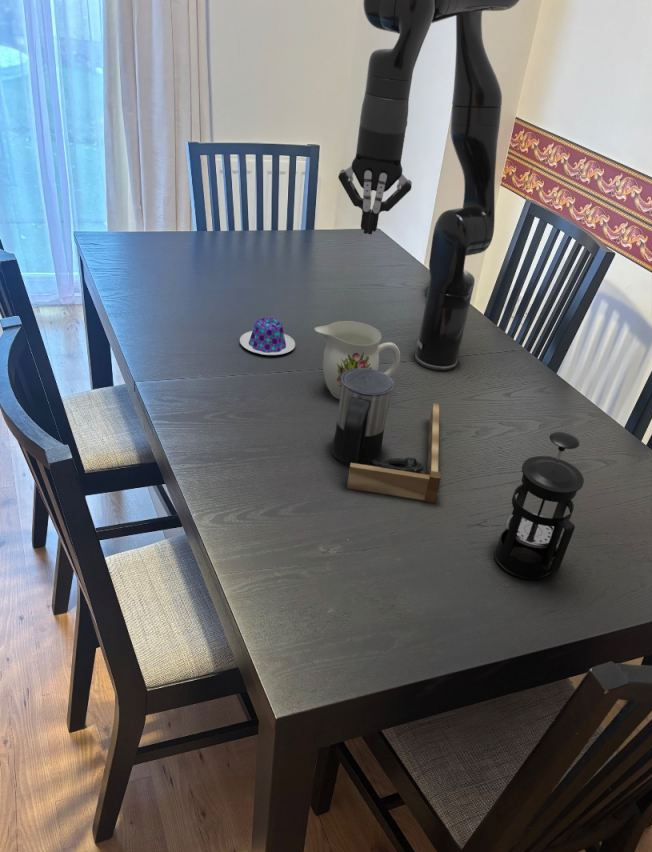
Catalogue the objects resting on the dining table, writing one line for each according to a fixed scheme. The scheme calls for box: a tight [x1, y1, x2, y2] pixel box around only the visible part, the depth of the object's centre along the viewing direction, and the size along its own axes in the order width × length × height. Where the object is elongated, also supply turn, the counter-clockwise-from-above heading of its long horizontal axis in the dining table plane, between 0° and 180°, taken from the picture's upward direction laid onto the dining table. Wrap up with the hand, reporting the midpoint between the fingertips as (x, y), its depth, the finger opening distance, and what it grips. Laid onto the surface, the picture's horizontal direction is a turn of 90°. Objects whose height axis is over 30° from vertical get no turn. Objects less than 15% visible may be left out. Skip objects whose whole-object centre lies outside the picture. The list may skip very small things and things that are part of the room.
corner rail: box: [346, 403, 442, 504], centre depth 141 cm, size 26×15×5 cm, turn 174°
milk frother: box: [330, 368, 424, 473], centre depth 136 cm, size 14×16×15 cm
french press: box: [493, 431, 585, 582], centre depth 116 cm, size 12×9×23 cm
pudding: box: [239, 317, 296, 356], centre depth 169 cm, size 12×12×5 cm
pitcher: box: [313, 320, 401, 400], centre depth 155 cm, size 11×18×14 cm, turn 103°
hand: (368, 232), depth 137 cm, fingers closed
